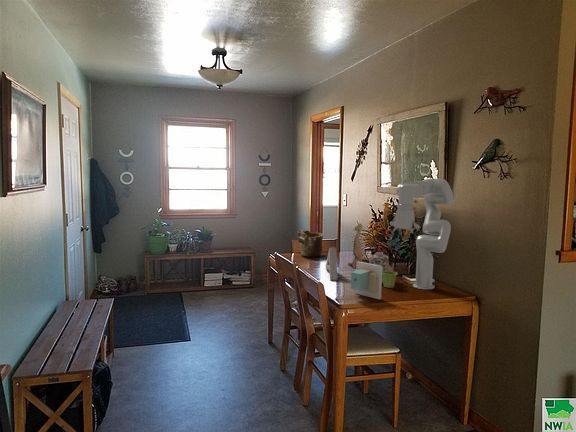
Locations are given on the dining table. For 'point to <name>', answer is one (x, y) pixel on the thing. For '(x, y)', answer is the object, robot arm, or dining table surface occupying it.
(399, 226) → the robot arm
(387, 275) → the plant pot
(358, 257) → the bird sculpture
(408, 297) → the dining table surface
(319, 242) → the ceramic vessel
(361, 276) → the teal cabinet
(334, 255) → the wall bracket
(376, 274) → the wall board
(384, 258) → the decorative jar
